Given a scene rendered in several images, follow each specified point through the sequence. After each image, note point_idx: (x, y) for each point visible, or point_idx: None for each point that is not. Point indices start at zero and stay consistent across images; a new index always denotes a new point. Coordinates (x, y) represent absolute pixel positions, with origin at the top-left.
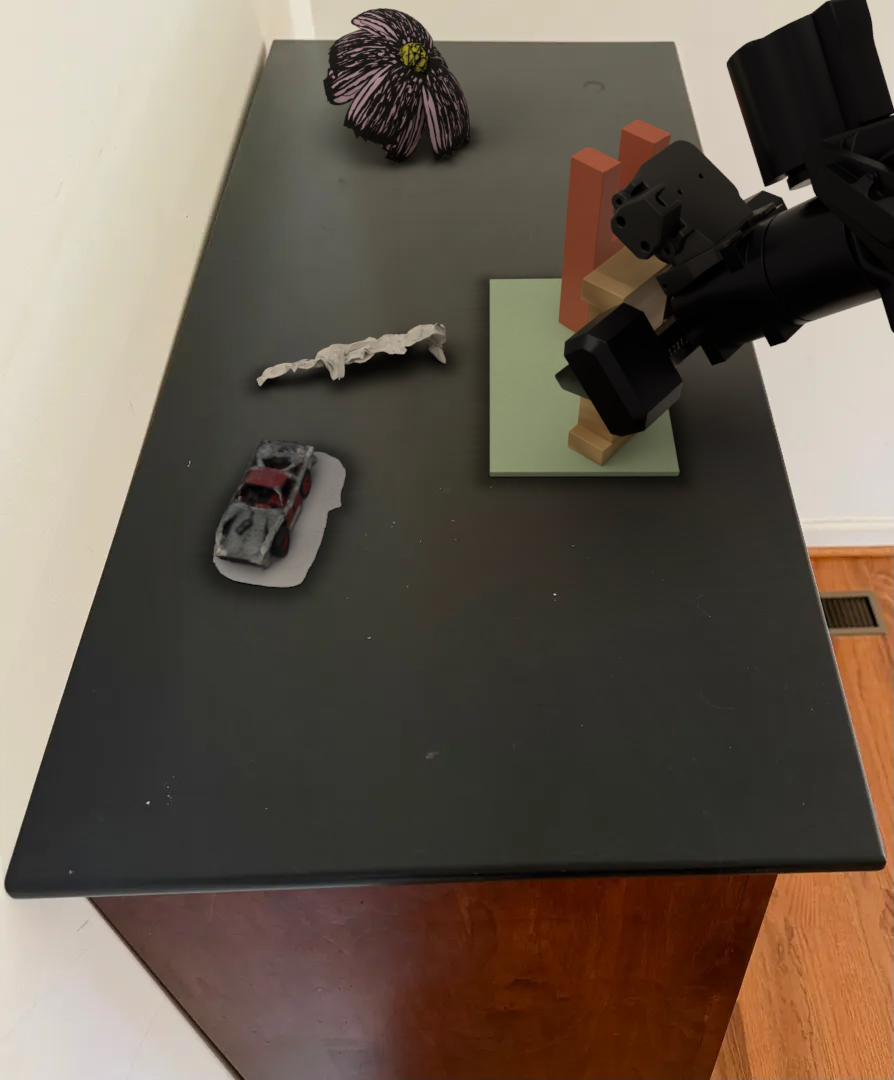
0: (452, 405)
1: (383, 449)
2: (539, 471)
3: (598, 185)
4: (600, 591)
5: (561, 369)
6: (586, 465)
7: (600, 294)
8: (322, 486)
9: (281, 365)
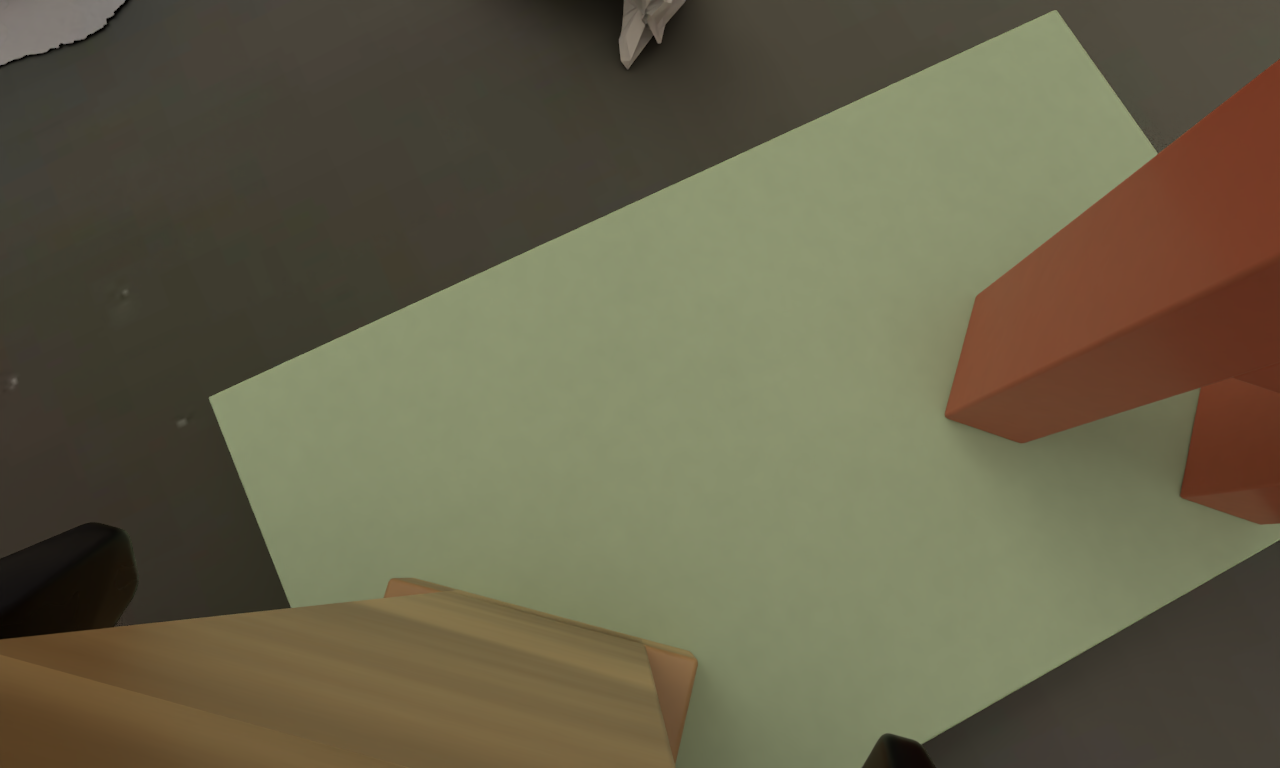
0: (467, 168)
1: (217, 80)
2: (267, 540)
3: None
4: None
5: (49, 557)
6: None
7: None
8: (20, 7)
9: None
